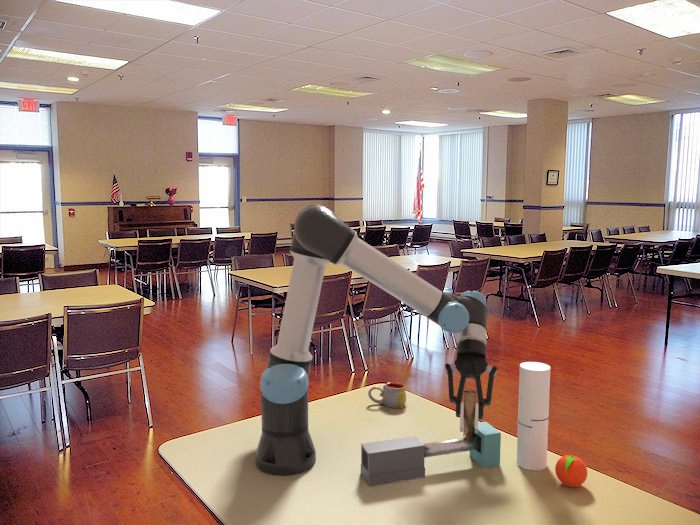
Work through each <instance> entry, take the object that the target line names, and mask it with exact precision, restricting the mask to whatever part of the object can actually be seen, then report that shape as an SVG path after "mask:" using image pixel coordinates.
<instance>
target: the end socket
mask: <svg viewBox="0 0 700 525" xmlns="http://www.w3.org/2000/svg"><path fill="white" fill-rule="evenodd" d="M501 433H502V432H500V431H499V430H498V429H497V428H495V427H494V426H493V425H491V424H490V423H488V422H487V421H481V422H478V433H475V436H479V437H481V449H478V450H471V451H469V456H470V457H471V458H472V460H474V461H475V462H477V463H478V465H479V466H481V468H483V469H486V468H494V467H498V466H499V467H500V465H501V445H502V444H501V443H502V442H501V440H502V439H501V438H502V437H501V436H502V434H501Z"/></svg>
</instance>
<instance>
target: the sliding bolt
mask: <svg viewBox="0 0 700 525" xmlns="http://www.w3.org/2000/svg"><path fill="white" fill-rule="evenodd" d="M476 398H477V391H476V390H473V389H466V390H465V389H464V393H463V402H464V423H463V432H462V433H463V434H462V436H463V437H460V438H453V439H447V440H440V441H434V442H425V443H423V444H424V445H425V451H424V459H425V458H431V457H437V456H445V455H451V454H457V453H463V452H464V453H465V452H470V451H471V450H478V449H481V437H479V436H475V403H477V402H476V400H477V399H476Z"/></svg>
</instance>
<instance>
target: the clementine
mask: <svg viewBox="0 0 700 525" xmlns="http://www.w3.org/2000/svg"><path fill="white" fill-rule="evenodd" d="M554 472H555V475H556V477H557V479H558V480H559V481H560V483H562V484H563V485H564V486H567V487H569V488H577V487H580V486H582V484H584V483H585V482H586V480H587V478H588V468H587V466H586V463H585V462H584V461H583V460H582V459H581V458H580V457H578V456H576V455H574V454H573V455H572V454H566V455H564V456H563V455H562V456H561V457H560V458H559V459H557V461H556V463H555V467H554Z"/></svg>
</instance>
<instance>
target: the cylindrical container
mask: <svg viewBox="0 0 700 525" xmlns="http://www.w3.org/2000/svg"><path fill="white" fill-rule="evenodd" d="M518 379H519V380H518V383H519V384H518V386H519V387H518V410H517V434H516V435H517V437H516V438H517V439H516V442H517V443H516V464H517V465H518V466H519V467H521V468H522V469H525V470H528V471H536V472H537V471H542V470H545V469H546V468H547V463H548V462H547V461H548V439H549V436H548V435H549V414H550V394H551V393H550V390H551V388H550V385H551V366H550V365H549V364H547V363H544V362H539V361H538V362H537V361H525V362H524V361H523V362H521V363H520V364H519V377H518Z"/></svg>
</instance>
